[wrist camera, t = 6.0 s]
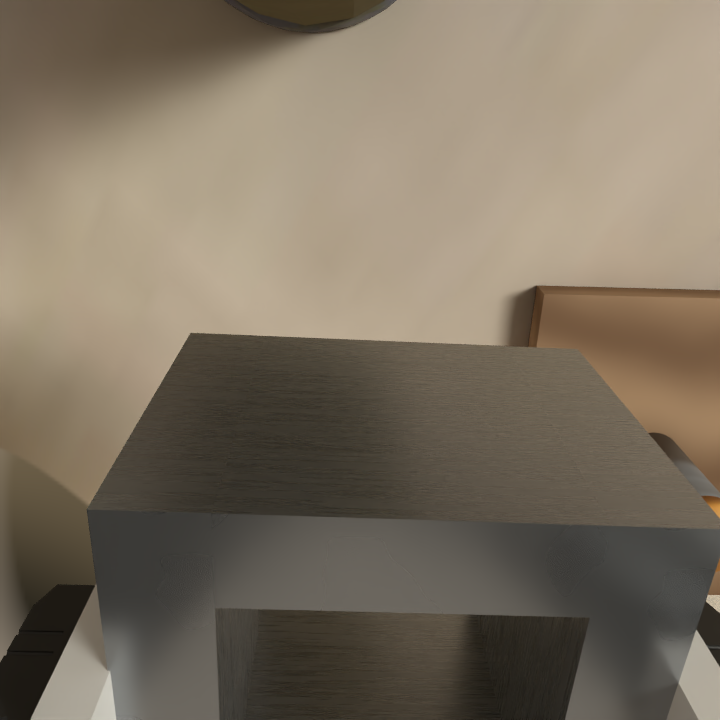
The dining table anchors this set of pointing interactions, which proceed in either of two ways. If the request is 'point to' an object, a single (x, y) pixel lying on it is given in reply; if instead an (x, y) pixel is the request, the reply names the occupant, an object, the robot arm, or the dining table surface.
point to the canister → (311, 12)
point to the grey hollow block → (395, 539)
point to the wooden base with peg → (650, 365)
